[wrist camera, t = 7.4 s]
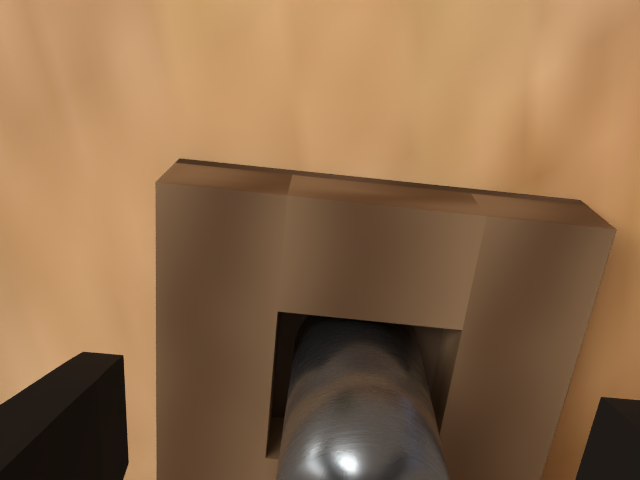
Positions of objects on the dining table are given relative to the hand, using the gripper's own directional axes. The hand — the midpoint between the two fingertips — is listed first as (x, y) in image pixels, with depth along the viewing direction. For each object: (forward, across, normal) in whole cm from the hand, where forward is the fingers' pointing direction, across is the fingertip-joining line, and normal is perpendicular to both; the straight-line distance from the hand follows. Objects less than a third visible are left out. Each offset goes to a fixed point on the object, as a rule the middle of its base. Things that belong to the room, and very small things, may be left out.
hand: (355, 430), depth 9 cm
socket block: (+10, -1, +5) cm, 11 cm away
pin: (+9, -1, +4) cm, 10 cm away
